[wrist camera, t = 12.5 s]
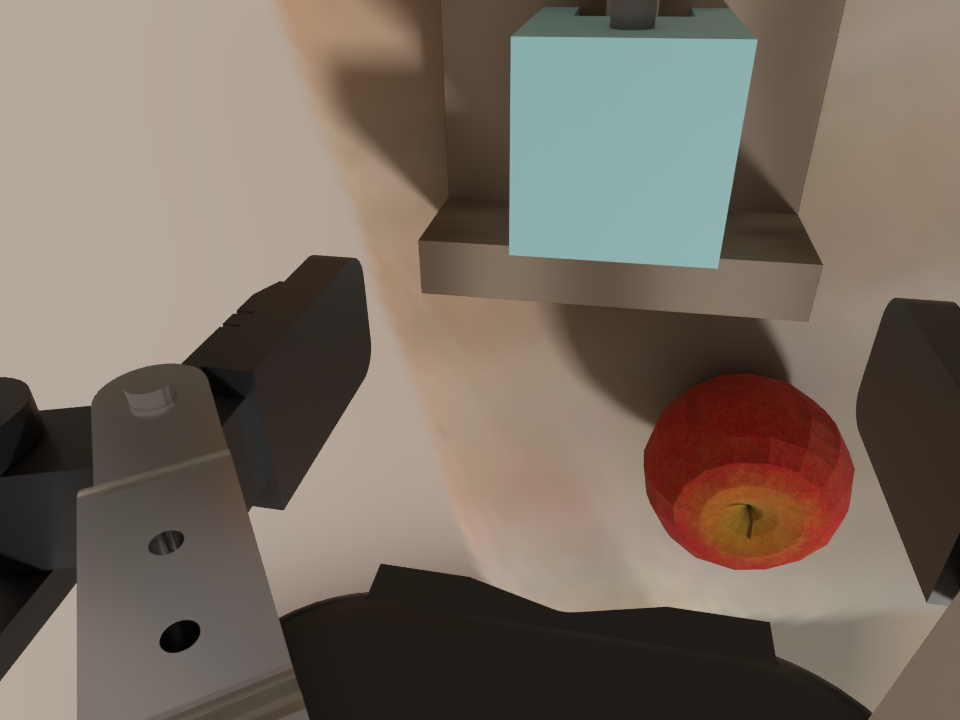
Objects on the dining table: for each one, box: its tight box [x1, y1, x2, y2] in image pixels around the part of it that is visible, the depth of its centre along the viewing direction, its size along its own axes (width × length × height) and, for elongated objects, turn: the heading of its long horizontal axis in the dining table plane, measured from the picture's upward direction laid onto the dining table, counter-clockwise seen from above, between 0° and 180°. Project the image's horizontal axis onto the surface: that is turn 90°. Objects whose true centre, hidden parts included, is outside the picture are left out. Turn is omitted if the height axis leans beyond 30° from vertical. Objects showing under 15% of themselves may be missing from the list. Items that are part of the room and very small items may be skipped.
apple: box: [644, 373, 855, 570], centre depth 29 cm, size 8×8×8 cm
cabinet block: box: [509, 0, 758, 269], centre depth 22 cm, size 6×7×7 cm
